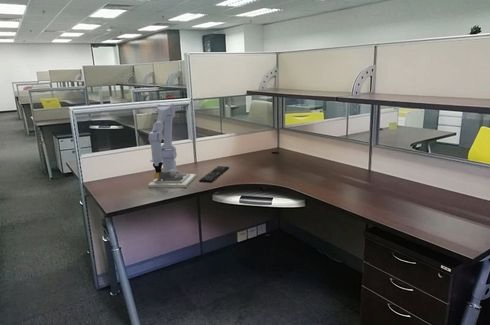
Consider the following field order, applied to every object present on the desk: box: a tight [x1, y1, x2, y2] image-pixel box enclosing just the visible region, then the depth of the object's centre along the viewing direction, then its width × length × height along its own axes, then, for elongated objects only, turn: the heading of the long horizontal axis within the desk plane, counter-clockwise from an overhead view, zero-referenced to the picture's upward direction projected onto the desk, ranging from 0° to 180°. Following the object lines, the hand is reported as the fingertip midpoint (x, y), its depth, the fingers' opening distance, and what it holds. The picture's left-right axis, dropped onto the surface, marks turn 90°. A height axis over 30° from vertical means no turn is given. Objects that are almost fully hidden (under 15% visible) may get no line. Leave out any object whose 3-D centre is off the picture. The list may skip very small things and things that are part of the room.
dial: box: [153, 170, 183, 181], centre depth 209 cm, size 16×12×5 cm
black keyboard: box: [198, 165, 230, 183], centre depth 223 cm, size 8×32×2 cm, turn 164°
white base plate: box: [147, 173, 197, 188], centre depth 211 cm, size 22×22×2 cm
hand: (158, 175), depth 211 cm, fingers closed
